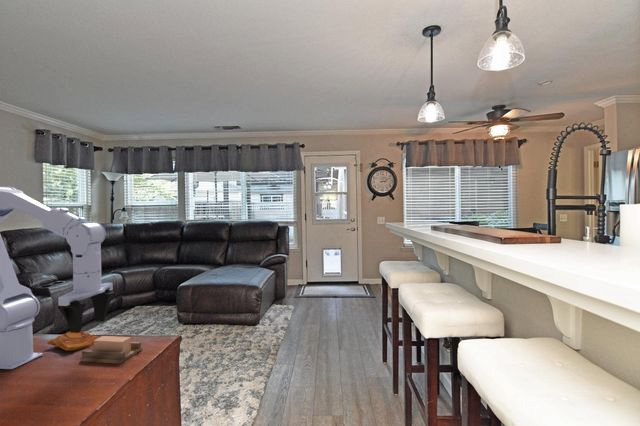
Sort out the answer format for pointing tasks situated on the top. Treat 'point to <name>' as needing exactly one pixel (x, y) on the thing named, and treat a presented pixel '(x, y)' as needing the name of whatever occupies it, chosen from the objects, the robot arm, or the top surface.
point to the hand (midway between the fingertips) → (88, 326)
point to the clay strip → (113, 344)
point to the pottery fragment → (73, 341)
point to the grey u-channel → (110, 354)
